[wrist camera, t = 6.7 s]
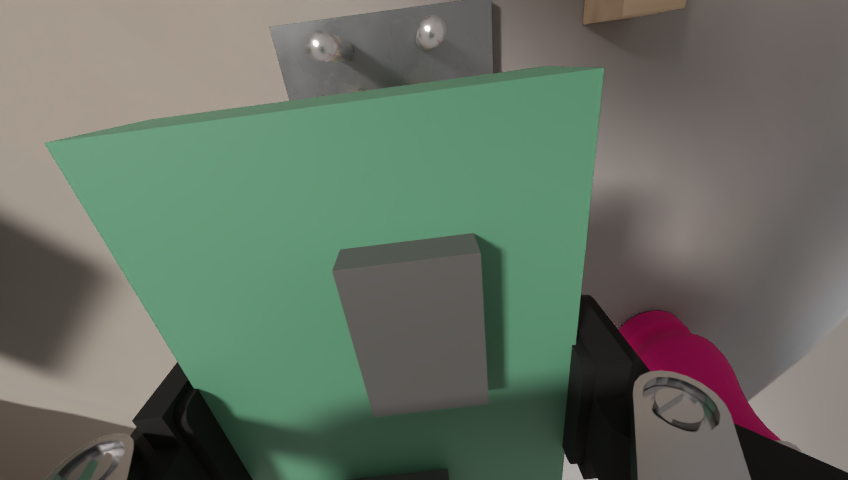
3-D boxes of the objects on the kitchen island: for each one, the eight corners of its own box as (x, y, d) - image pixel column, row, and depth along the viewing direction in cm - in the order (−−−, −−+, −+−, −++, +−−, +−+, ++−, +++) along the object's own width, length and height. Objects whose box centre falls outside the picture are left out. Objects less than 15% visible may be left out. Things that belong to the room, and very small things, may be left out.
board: (149, 119, 6) (-8, 153, 4) (546, 65, 6) (632, 68, 4) (322, 494, 12) (300, 601, 9) (532, 471, 11) (563, 575, 9)
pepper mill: (595, 356, 35) (789, 660, 17) (631, 299, 32) (914, 598, 14) (658, 366, 36) (901, 663, 18) (699, 312, 33) (1040, 606, 15)
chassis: (274, 28, 21) (213, 12, 15) (487, -1, 21) (524, -30, 14) (341, 275, 29) (322, 338, 23) (495, 256, 29) (521, 314, 23)
